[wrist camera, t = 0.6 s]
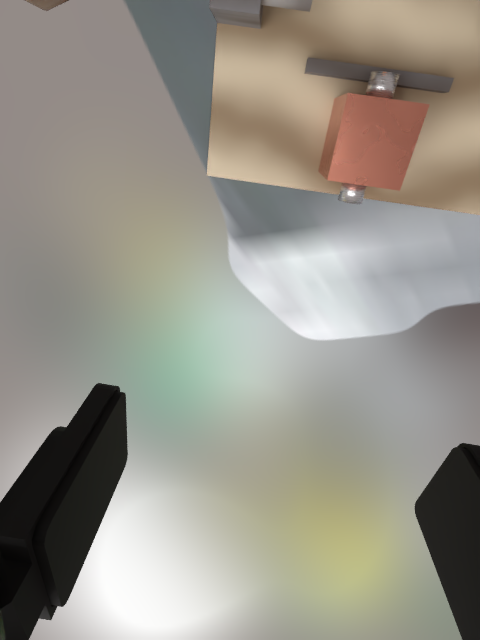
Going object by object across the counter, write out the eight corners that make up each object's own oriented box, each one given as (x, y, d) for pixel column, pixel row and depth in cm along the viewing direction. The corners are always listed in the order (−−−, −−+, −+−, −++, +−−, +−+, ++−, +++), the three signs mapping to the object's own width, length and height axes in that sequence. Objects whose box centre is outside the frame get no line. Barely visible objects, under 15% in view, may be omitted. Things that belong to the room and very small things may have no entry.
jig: (232, -151, 20) (221, -231, 16) (616, -98, 20) (717, -162, 16) (209, 173, 29) (197, 182, 25) (473, 211, 29) (510, 227, 25)
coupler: (313, 190, 28) (321, 202, 24) (340, 73, 24) (355, 62, 20) (373, 199, 28) (392, 213, 24) (409, 83, 24) (440, 74, 20)
